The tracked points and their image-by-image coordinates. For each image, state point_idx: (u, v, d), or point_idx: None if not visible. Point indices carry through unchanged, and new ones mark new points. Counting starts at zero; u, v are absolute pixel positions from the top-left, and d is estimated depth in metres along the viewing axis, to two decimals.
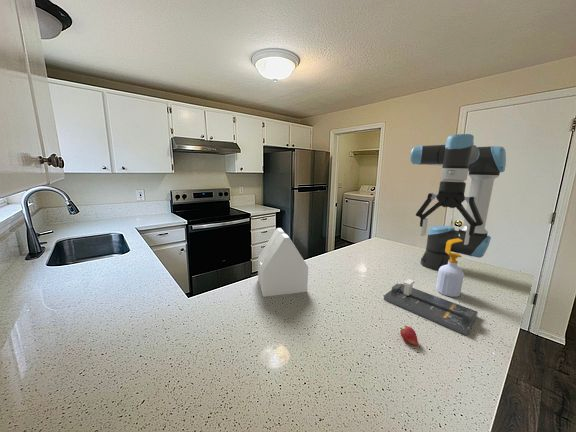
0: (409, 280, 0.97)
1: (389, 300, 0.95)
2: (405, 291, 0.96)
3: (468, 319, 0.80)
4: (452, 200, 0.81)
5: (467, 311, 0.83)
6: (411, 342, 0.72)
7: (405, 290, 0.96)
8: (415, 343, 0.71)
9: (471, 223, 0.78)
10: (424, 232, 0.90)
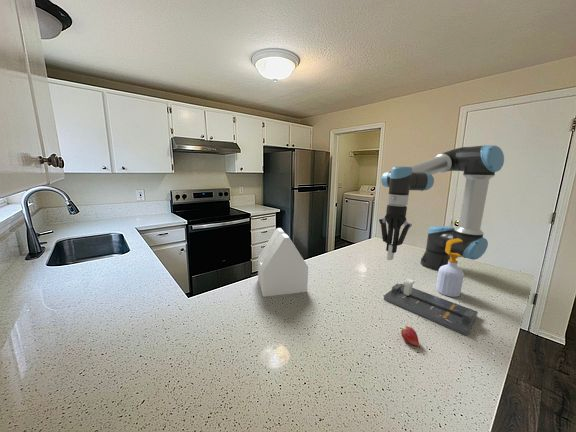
0: (409, 280, 0.97)
1: (389, 300, 0.95)
2: (405, 291, 0.96)
3: (468, 319, 0.80)
4: (395, 221, 0.96)
5: (467, 311, 0.83)
6: (412, 343, 0.71)
7: (405, 290, 0.96)
8: (416, 344, 0.71)
9: (394, 243, 0.98)
10: None
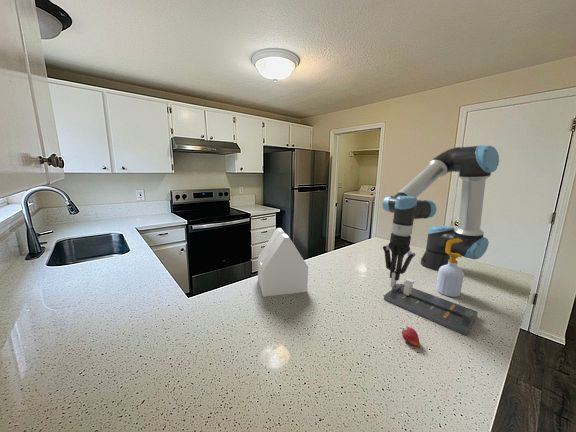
0: (409, 280, 0.97)
1: (389, 300, 0.95)
2: (405, 291, 0.96)
3: (468, 319, 0.80)
4: (399, 250, 0.96)
5: (467, 311, 0.83)
6: (413, 344, 0.71)
7: (405, 290, 0.96)
8: (417, 344, 0.71)
9: (397, 271, 0.98)
10: None
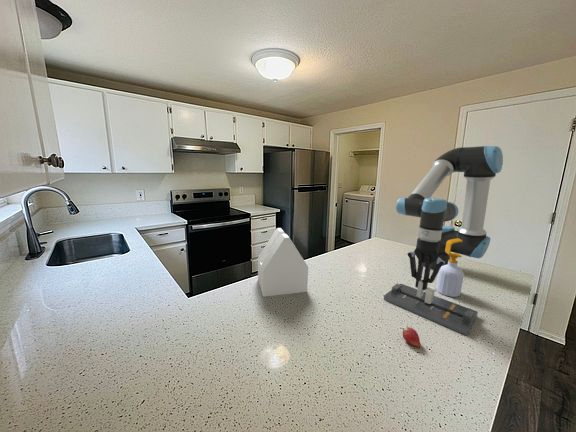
0: (430, 287, 0.91)
1: (389, 300, 0.95)
2: (426, 299, 0.90)
3: (468, 319, 0.80)
4: (427, 257, 0.88)
5: (467, 311, 0.83)
6: (413, 344, 0.71)
7: (426, 298, 0.90)
8: (417, 345, 0.70)
9: (425, 280, 0.90)
10: None
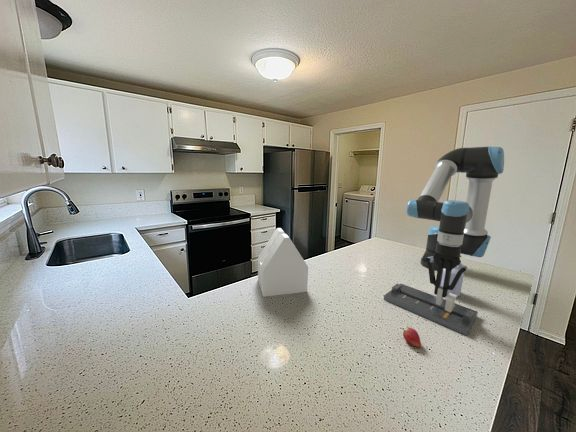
0: (451, 295, 0.87)
1: (389, 300, 0.95)
2: (447, 307, 0.86)
3: (468, 319, 0.80)
4: (448, 263, 0.83)
5: (467, 311, 0.83)
6: (414, 344, 0.71)
7: (447, 306, 0.86)
8: (418, 345, 0.70)
9: (445, 287, 0.86)
10: None
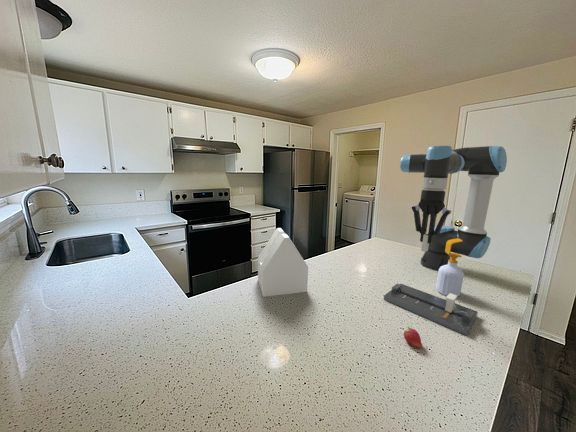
0: (451, 295, 0.86)
1: (389, 300, 0.95)
2: (447, 307, 0.85)
3: (468, 319, 0.80)
4: (432, 207, 0.85)
5: (467, 311, 0.83)
6: (415, 345, 0.71)
7: (447, 306, 0.85)
8: (419, 345, 0.70)
9: (430, 232, 0.88)
10: None
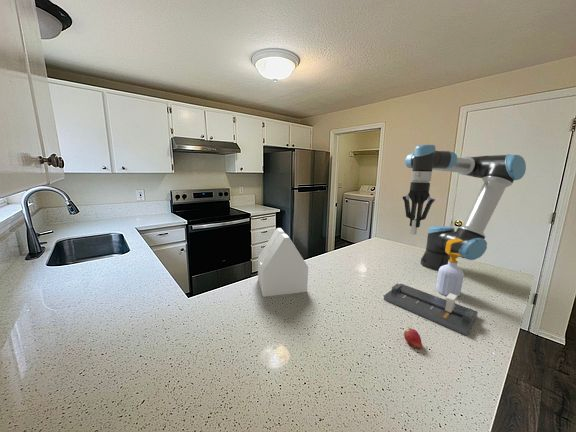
0: (451, 295, 0.86)
1: (389, 300, 0.95)
2: (447, 307, 0.85)
3: (468, 319, 0.80)
4: (419, 197, 1.02)
5: (467, 311, 0.83)
6: (415, 345, 0.71)
7: (447, 306, 0.85)
8: (419, 346, 0.70)
9: (417, 218, 1.04)
10: None
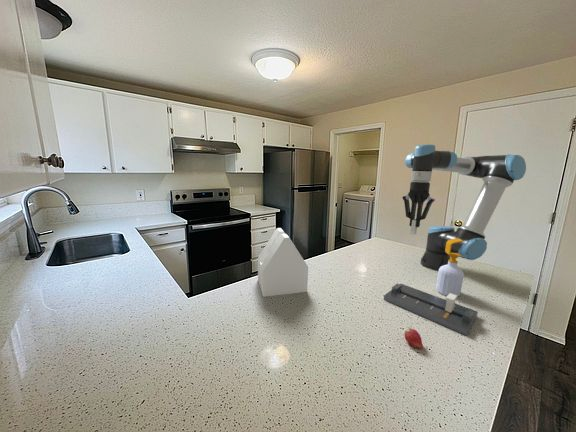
0: (451, 295, 0.86)
1: (389, 300, 0.95)
2: (447, 307, 0.85)
3: (468, 319, 0.80)
4: (419, 196, 1.02)
5: (467, 311, 0.83)
6: (416, 345, 0.70)
7: (447, 306, 0.85)
8: (420, 346, 0.70)
9: (417, 218, 1.04)
10: None
